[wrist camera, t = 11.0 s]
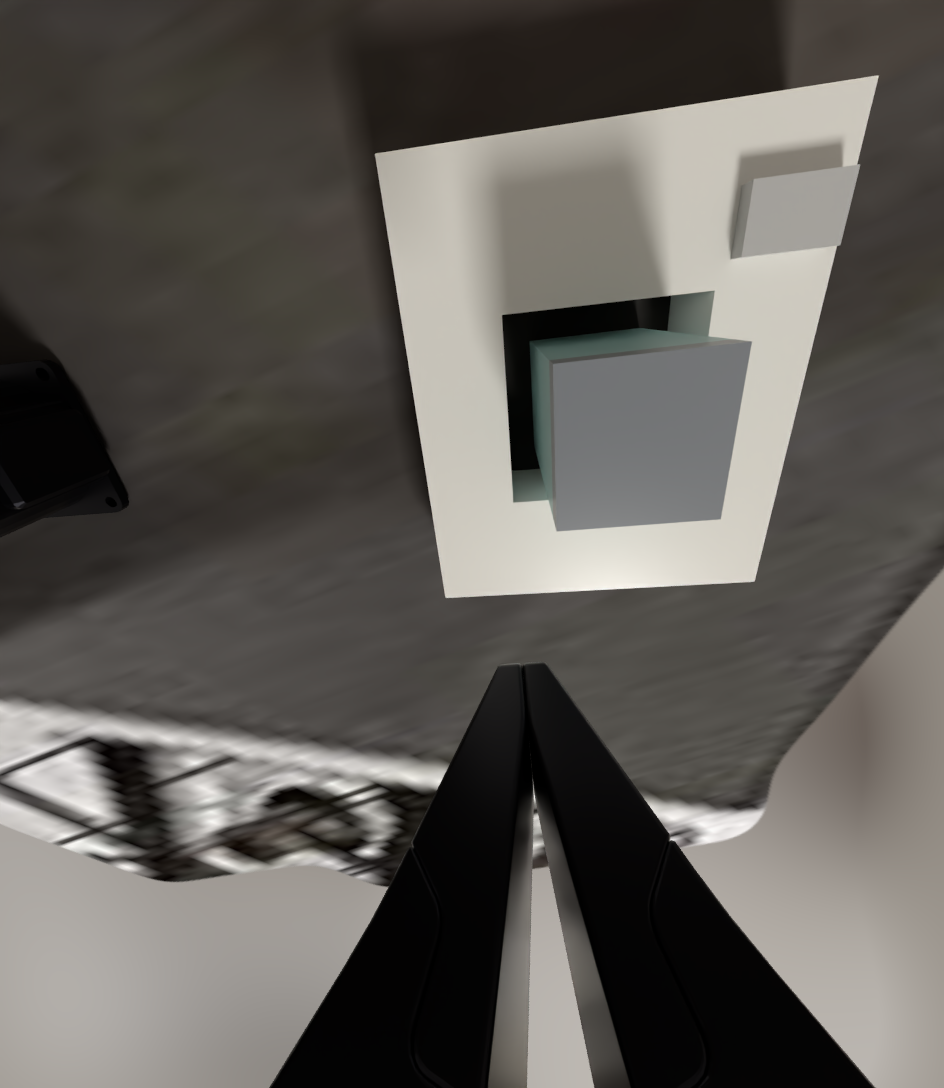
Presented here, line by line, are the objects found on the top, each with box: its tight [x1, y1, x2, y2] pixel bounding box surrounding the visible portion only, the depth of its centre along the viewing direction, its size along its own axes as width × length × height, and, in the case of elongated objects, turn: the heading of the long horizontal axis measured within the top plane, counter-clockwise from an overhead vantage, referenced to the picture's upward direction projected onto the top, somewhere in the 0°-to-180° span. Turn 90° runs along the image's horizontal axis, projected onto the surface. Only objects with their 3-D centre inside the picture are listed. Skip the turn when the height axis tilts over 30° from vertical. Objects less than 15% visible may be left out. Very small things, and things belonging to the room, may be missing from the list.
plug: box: [529, 328, 752, 531], centre depth 13 cm, size 4×4×8 cm
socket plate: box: [375, 75, 879, 598], centre depth 15 cm, size 12×14×4 cm
